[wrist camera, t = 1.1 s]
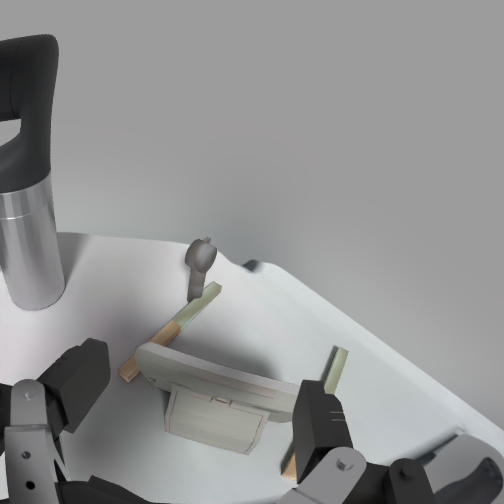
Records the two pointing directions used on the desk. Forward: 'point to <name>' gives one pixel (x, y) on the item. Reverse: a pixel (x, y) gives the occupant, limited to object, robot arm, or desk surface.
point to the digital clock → (215, 398)
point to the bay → (200, 262)
